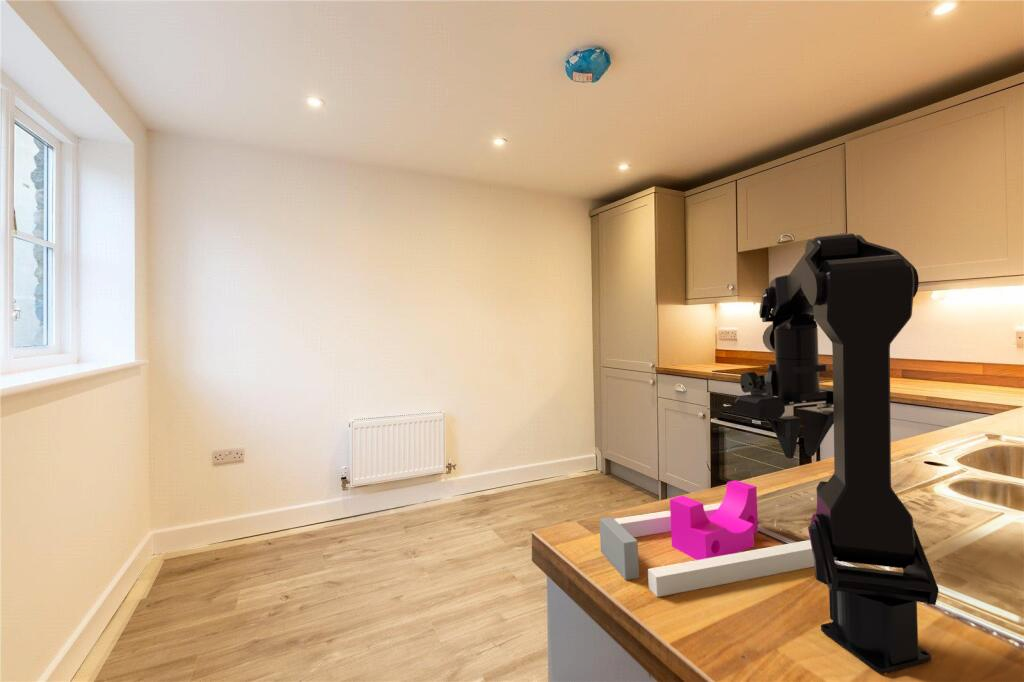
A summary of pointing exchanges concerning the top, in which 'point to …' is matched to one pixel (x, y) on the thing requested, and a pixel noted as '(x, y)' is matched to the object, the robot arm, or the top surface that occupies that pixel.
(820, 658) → the top surface
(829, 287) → the robot arm
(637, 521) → the chute
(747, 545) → the toy block
